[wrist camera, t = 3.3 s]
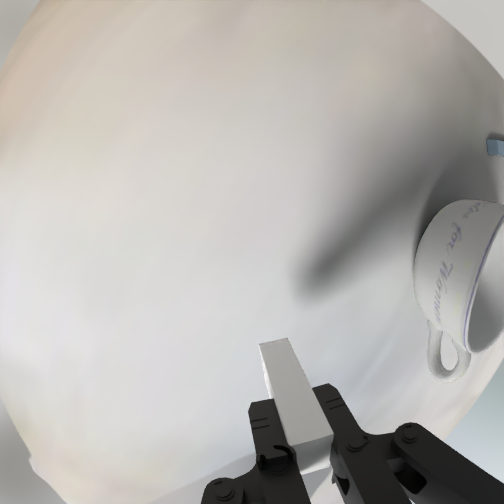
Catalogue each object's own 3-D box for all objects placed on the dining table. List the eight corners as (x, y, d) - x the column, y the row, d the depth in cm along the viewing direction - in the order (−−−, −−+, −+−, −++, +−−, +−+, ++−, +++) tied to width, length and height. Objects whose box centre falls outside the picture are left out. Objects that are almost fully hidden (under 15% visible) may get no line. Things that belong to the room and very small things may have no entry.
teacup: (431, 166, 17) (512, 172, 9) (484, 231, 19) (543, 252, 12) (350, 322, 19) (407, 387, 12) (421, 351, 22) (468, 396, 14)
